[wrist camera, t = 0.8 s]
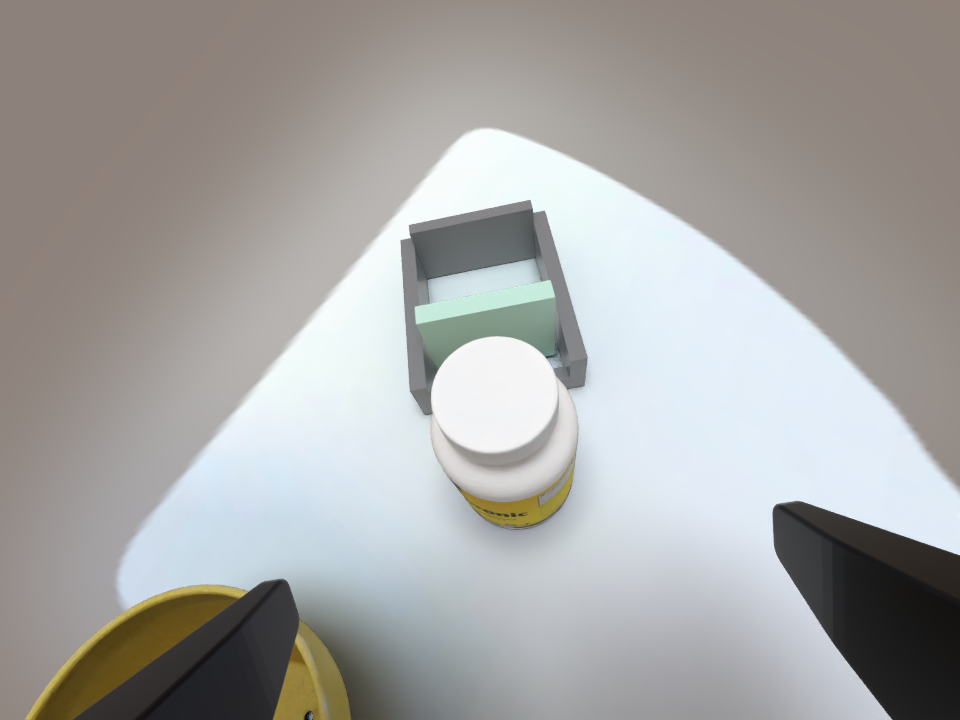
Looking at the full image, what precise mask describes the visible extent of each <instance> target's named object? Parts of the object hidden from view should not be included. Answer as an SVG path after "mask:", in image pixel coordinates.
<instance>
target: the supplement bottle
mask: <svg viewBox="0 0 960 720" xmlns="http://www.w3.org/2000/svg"><path fill="white" fill-rule="evenodd" d="M431 406H432V412H433V414H432V420H431V440H432V445H433V449H434V452H435V455H436V457H437V460H438V462H439V464H440V465H441V467H442V468H443V470H444V472H445V473H446V475H447V476H448V477H449V479H450V480H451V481H452V482H453V483H454V485H455V486H456V487H457V488H458V490H459V491H460V492H461V493H462V495H463V496H464V497H465V499H466V500H467V501H468V502H469V504H470V505H471V506H472V507H473V509H474V510H475V511H476V512H477V513H478V514H479V515H481V516H482V517H483V518H484V519H486V520H487V521H489V522H491V523H493V524H495V525H498V526H500V527H504V528H509V529H525V528H530V527H534V526H536V525H539V524H541V523H543V522H545V521H546V520H548V519H549V518H551V517H552V516H553V515H554V514H555V513H556V512H557V511H558V510H559V509H560V508H561V507H562V505H563V504H564V502H565V500H566V498H567V496H568V494H569V491H570V489H571V485H572V482H573V473H574V466H575V458H576V449H577V442H578V417H577V412H576V408H575V405H574V402H573V400H572V397H571V395H570V394H569V392H568V390H567V389H566V387H565V386H564V385H563V383H562V382H561V381H560V380H559V379H558V378H557V377H556V375H555V372H554V370H553V368H552V366H551V364H550V363H549V361H548V360H547V359H546V358H545V356H544V355H543V354H542V353H541V352H539V351H538V350H537V349H536V348H534V347H533V346H531V345H529V344H528V343H526V342H523V341H521V340H518V339H514V338H510V337H499V336H495V337H485V338H481V339H477V340H474V341H471V342H469V343H467V344H465V345H463V346H461V347H460V348H458V349H457V350H456V351H454V352H453V353H452V354H451V355H450V356H448V358H447V359H446V360H445V361H444V362H443V364H442V365H441V367H440V368H439V370H438V372H437V374H436V376H435V379H434V382H433V386H432V390H431Z"/></svg>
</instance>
